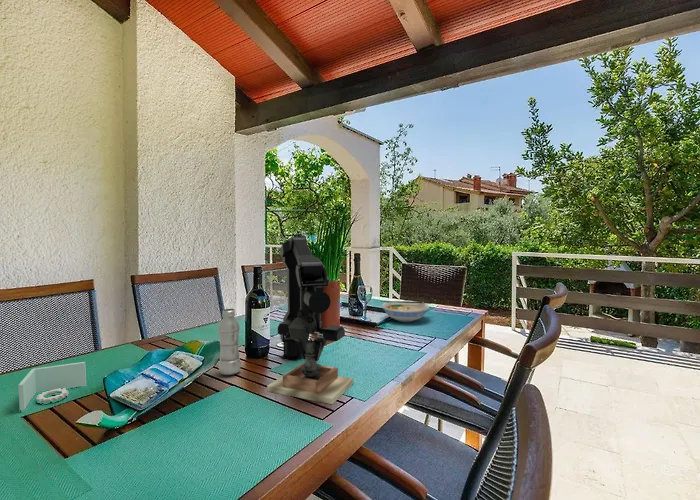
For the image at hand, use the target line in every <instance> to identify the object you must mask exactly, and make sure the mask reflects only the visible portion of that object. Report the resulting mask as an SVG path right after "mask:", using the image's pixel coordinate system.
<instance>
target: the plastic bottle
mask: <svg viewBox="0 0 700 500" xmlns="http://www.w3.org/2000/svg"><path fill="white" fill-rule="evenodd" d="M235 316H236V309H235V308H224V309H222V314H221V317H222V318H221V320H220V322H219V323H218V325H217V332H218V339H219V348H220V352H219V353H220V354H219V362H218V370H219V373H220V374H221V375H223V376H232V375H233V376H234V375H235V374H237V373H239V372H240V370H241V366H242V365H241V364H242V362H241V359H240V352H239V351H240V350H239V349H240V348H239V338H240V337H239V336H240V329H241V327H240V326H241V325H240V323H239V321H238V320H237V318H236V317H235Z"/></svg>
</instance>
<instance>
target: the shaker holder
mask: <svg viewBox="0 0 700 500" xmlns="http://www.w3.org/2000/svg"><path fill="white" fill-rule="evenodd" d="M303 364H305V362H302V363H301V364H298V365H297V366H296V367H294V368H292V369H290V371H289V370H288V372H285V373H284V374H283V375H282V376H280V377H279V378H277V379H276V380H274V381H272V382H271V383H270V384H268V385H267V386H266V391H267V392H268V393H275V394H279V395H284V396H290V397H295V398H299V399H304V400H309V401H314V402H318V403H324V404H329V405H333V404H334V403H335V402H337V400H338V399H340V397H341V396H343V394H344V393H346V392H347V390H349V388H350V387H351V386H352V385H353V384H354V378H350V377H345V376H341V375H340V376H339V369H338V367H335V366H327V365H321V364H320V365H321V368H320V372H319V374H318V376H319V377H320V379H319V380H313V379H308V378H303V377H304V376H305V375H304V374H303V373H302V369H301V366H302V365H303Z"/></svg>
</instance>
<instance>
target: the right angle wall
mask: <svg viewBox="0 0 700 500" xmlns="http://www.w3.org/2000/svg"><path fill="white" fill-rule="evenodd" d="M86 367H87V366H86V361H82V362H81V361H80V362H73V363H72V362H71V363H66V364H58V365H52V366H43V367H35V368H31V370H30V371H29V372H28V373H27V374H26V375H25V377H24V378H23V379H22V380H21V381H20V383H19V384H18V385H17V386H18V402H19V403H18V405H19V411H20V410H24V409H25V408H26V406H27V405H28V403H29V402H30V400H31V399H32V398H33V396H34V395H35V393H36V392H40V391H46V390H50V391H46V392H42V394H38V395H36V396H35V400H36V401H38V400H39V402H44V403H45V402H48V401H54V400H58V399H62V398H64V397H66V396H67V397H69V395H70V393H69V390H66V388H70V387H78V386H86V387H87V372H86V371H87V370H86ZM61 388H63V389H61ZM55 393H61V394H60V395H56V396H51V397H48V398H45V397H44V396H46V395H50V394H55ZM68 394H69V395H68Z"/></svg>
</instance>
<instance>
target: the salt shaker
mask: <svg viewBox="0 0 700 500" xmlns="http://www.w3.org/2000/svg"><path fill="white" fill-rule="evenodd" d="M315 348H316V344H315V342H314V339H313V338H312V337H310V338H309V339H308V341H307V342H306V352H305V355H306V359H305V362H304V363H305V364H303V365H302V366H301V369H302V373H303V374H304V375H305V376H304V377H303V378H308V379H313V380H319V379H320V377H319V376H318V374H319V372H320V368H321V364H320V363H318V361H316V359H315Z"/></svg>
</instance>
